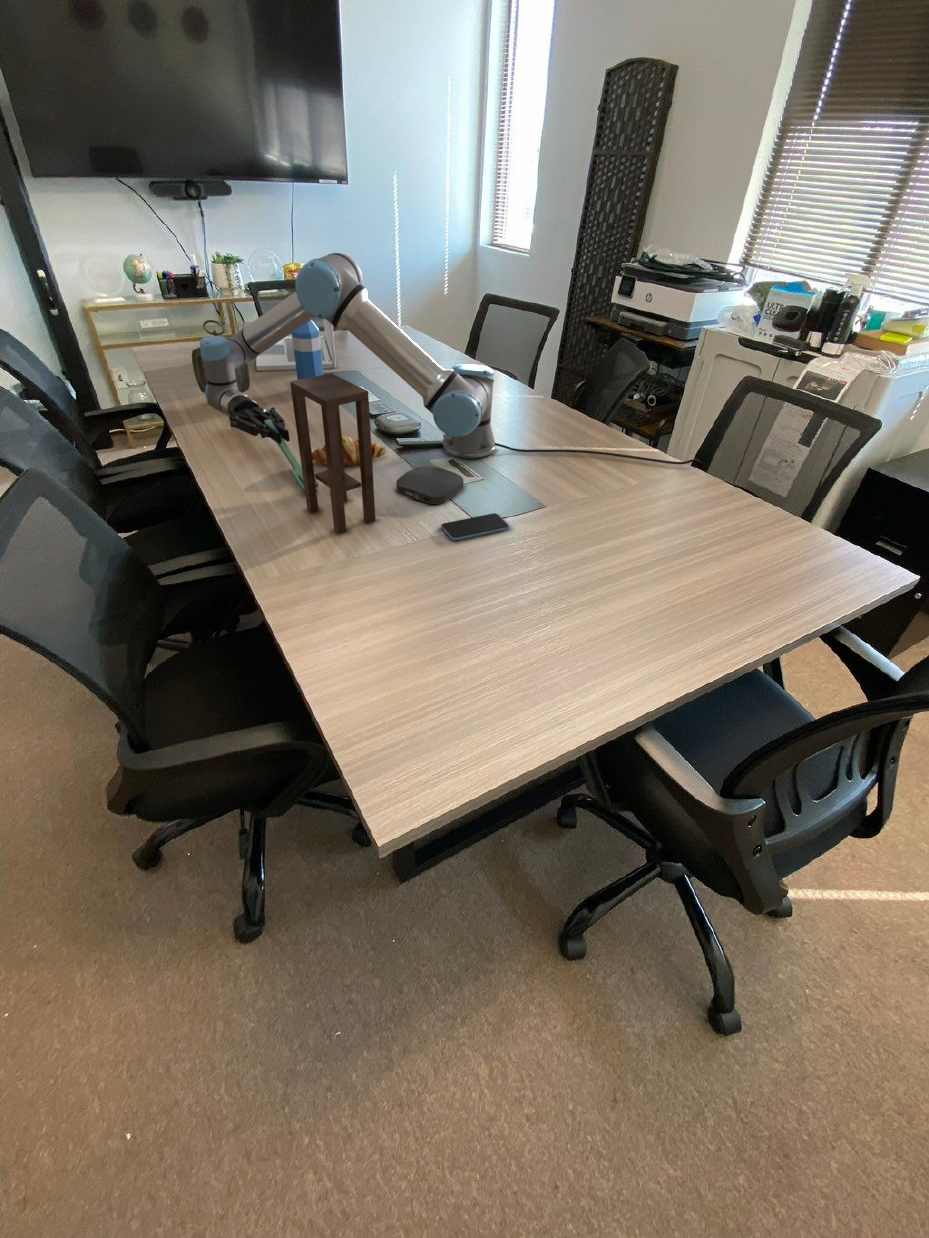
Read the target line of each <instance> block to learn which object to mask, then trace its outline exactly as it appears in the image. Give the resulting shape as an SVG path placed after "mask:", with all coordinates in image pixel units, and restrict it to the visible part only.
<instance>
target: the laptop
mask: <svg viewBox="0 0 929 1238" xmlns="http://www.w3.org/2000/svg"><path fill="white" fill-rule="evenodd" d="M322 321H323V330H324V331H323V332H324V335H319V336H320V346H321V356H322V366H323V370H325V369H336V368H337V360H336V359H337V358H336V349H335V347H336V346H335V335H334V326H333V325H332V324H331V323H330V322H328V321H327V320H326V319H322ZM255 359H256V361H255V362H256V365H255V367H256V371H257V372H259V371H260V372H261V371H263V372H265V371H293V370H295V371H296V363H295V356H294V348H293V340H292V335H290V336H289V335H288V336H287V337H285V338H283V339H282V340H280V341H279V342H277V343H276V344H274V345H273V346H271V347H270V348H268V349H267V350H265V351H264V352H262V353H261V354H260V355H258V356H257V357H256V358H255Z"/></svg>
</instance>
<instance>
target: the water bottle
mask: <svg viewBox="0 0 929 1238" xmlns="http://www.w3.org/2000/svg"><path fill="white" fill-rule="evenodd" d="M291 336H292V340H293V348H294V356H295V363H296V370H295V371H296V380H300V379H305V378H310V377H315V376H320V375H324V369H323V366H322V356H321V346H320V336H321V335H320V329H319V326H317V324H316V323H315V322H314V321H313V319H312V320H311V321H309V322H308V323H306V324H305V325H303V326H302V327H300V328H299V329H297V330H296V331H294V332H293V333H291Z"/></svg>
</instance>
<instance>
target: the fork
mask: <svg viewBox="0 0 929 1238" xmlns="http://www.w3.org/2000/svg"><path fill="white" fill-rule="evenodd" d="M264 424H265V425H267V424H268V425H269V426H271V427H272V428H274V429H275V430H277V429H276V427H275V426H274V424H273V423H272V421H271V420H270V419H269V420H264ZM265 425H264V426H265ZM277 431H278V430H277ZM281 442H282V443H280V444H278V443H277V442H276V444H277V445H278V447H279V448H280V450H281V452H282V453H283V454H284V456H285V458H286V459H287V461H288V463H289V464H290V465H291V467H292V468H293V469H291V470H290V475H291V476H292V478H293V479H294V481H295V482H296V485H298V487H299V489H300V490H301V491H302V493H303V492H304V493H305V489H304V481H303V474H302V466H301V463H299V461H298V460H297V458H296V457H295V454H293V452H292V450H291V449H290V448H289V446H288V444H287V442H286V440H284V439H283V438H282V437H281ZM315 483H316V489H317V488H319V486H320V484H319V482H318V480H317V479H316V478H315Z"/></svg>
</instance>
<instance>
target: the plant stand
mask: <svg viewBox="0 0 929 1238" xmlns="http://www.w3.org/2000/svg"><path fill="white" fill-rule="evenodd" d="M289 385H290V392H291V399H292V407H293V414H294V421H295V430H296V436H297V444H298V450H299V451H298V452H299V458H300V466H301V467H302V474H303V481H304V489H305V491H304V495H305V503H306V509H307V511H308V512H309V513H310V514H313V513H316V512H318V511H320V510H319V500H318V491H317V488H316V483H315V479H316V480H317V481H319V482H320V483H322V484H323V485H325V486H326V487H328V488H329V491H330V492H329V493H330V503H331V511H332V521H333V530H334V532H336V534H338V535H339V534H344V533H345V532H347V522H346V512H345V511H346V510H345V503H346V502H348V492H349V491H352V490H356V489H358V488H361V498H362V515H363V521H365V523H368V524H370V523H372V522H375V521H376V506H375V504H376V502H375V487H374V486H375V485H374V469H373V467H374V466H373V459H372V449H371V444H372V433H371V431H372V430H371V414H370V413H371V412H370V398H369V397H370V396H369V390H367V389H365V388H363V387H361V386H358V385H356V384H355V383H352V382H351V381H349V380H346V379H344V378H342V377H340V376H338V375H336V374H334V373H331V372H330V373H324V374H323V375H320V376H315V377H310V378H305V379H300V380H298V379H295V380H291V381H289ZM306 398H307V399H309V400H310V401H313V402H315V403H316V404H318V405H319V406H320V409H321V410H320V411H321V418H322V427H323V436H324V445H325V447H326V456H327V465H326V466H327V469H326V470H323V471H319V472H316V473H315V468H314V460H313V459H312V452H313V451H312V442H311V437H310V436H311V435H310V428H309V427H310V426H309V419H308V411H307V403H306ZM354 402H355V413H356V416H355V417H356V429H357V440H358V444H359V458H360V464H359V470H360V473H359V474H360V481H359V480H358V479H356V478H354V477H353V476H351V475H350V474H348V473H347V472H346V469H345V466H344V456H343V445H342V436H343V435H342V424H341V413H340V406H342V405H346V404H350V403H354Z"/></svg>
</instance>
